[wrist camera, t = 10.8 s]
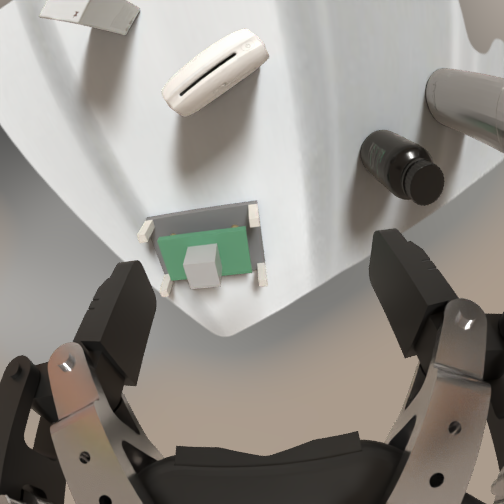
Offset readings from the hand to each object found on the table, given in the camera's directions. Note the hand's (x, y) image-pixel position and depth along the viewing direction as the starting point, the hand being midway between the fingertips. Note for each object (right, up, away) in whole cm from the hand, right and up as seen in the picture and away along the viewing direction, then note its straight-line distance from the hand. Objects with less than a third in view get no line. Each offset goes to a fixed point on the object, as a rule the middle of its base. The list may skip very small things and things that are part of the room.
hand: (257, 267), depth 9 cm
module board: (-7, 0, +30) cm, 31 cm away
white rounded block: (-4, +22, +19) cm, 29 cm away
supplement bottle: (+18, +14, +25) cm, 34 cm away
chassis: (-7, +2, +32) cm, 33 cm away
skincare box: (-17, +30, +13) cm, 37 cm away
